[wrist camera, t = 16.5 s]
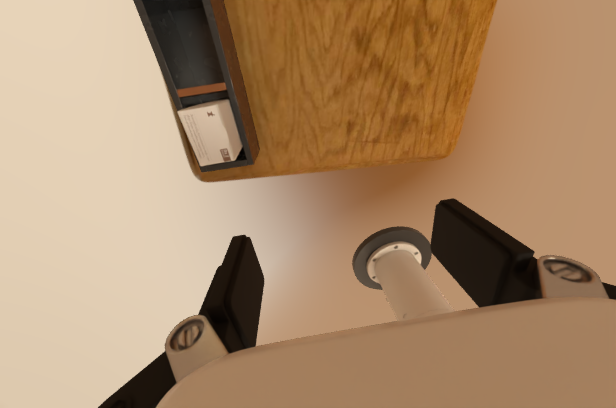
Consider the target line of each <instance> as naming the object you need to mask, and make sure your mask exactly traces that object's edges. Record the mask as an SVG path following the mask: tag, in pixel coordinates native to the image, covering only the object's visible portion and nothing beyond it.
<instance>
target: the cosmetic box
mask: <svg viewBox="0 0 616 408" xmlns="http://www.w3.org/2000/svg"><path fill="white" fill-rule="evenodd" d="M177 113H178V115H179V118H180V120H181V122H182V124H183V127H184V129H185V131H186V134H187V136H188V138H189V141H190V143H191V145H192V148H193V150H194V152H195V155H196V157H197V160H198V162H199V164H200V166H206V165H211V164H217V163H223V162H229V161H235V160H236V158H237V156H238V154H239V152H240V150H241V149H242V147H243V145H242V141H241V138H240V134H239V131H238V127H237V123H236V120H235V116H234V113H233V109H232V106H231V102H230V99H229V98H222V99H216V100H211V101H209V102H205V103H202V104H198V105H195V106H192V107H188V108H186V109H181V110H179V111H177Z"/></svg>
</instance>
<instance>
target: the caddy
mask: <svg viewBox="0 0 616 408" xmlns="http://www.w3.org/2000/svg"><path fill="white" fill-rule="evenodd" d="M133 1H134V3H135V5H136V8H137V11H138V13H139V16H140V18H141V21H142V23H143V26H144V28H145V31H146V33H147V36H148V38H149V41H150V43H151V46H152V48H153V51H154V53H155V56H156V58H157V61H158V64H159V66H160V69H161V71H162V74H163V76H164V79H165V81H166V84H167V86H168V89H169V91H170V94H171V96H172V99H173V101H174V104H175V106H176V109H177V111H179V110H181V109H186V108H188V107H192V106H195V105H198V104H202V103H205V102H209V101H211V100H216V99H222V98H229V99H230V102H231V106H232V109H233V113H234V116H235V120H236V123H237V127H238V131H239V134H240V138H241V141H242V145H243V147H242V149H241V150H240V152H239V154H238V156H237V158H236V160H235V161H229V162H223V163H217V164H211V165H206V166H200V164H199V162H198V160H197V162H198V164H199V167H200V169H201V172H207V171H208V172H209V171H215V170H221V169H228V168H234V167H240V166H247V165H253V164H254V163H255V160H256V158H257V155H258V153H259V150H260V147H259V143H258V139H257V135H256V131H255V127H254V123H253V119H252V115H251V111H250V107H249V103H248V98H247V94H246V90H245V86H244V82H243V78H242V74H241V70H240V66H239V62H238V58H237V54H236V49H235V45H234V41H233V37H232V33H231V29H230V25H229V21H228V17H227V13H226V9H225V4H224V0H133ZM187 137H188V136H187ZM188 139H189V138H188ZM189 142H190V141H189ZM190 144H191V143H190ZM191 147H192V145H191ZM192 149H193V148H192ZM193 152H194V150H193ZM194 154H195V152H194ZM195 157H196V155H195ZM196 159H197V157H196Z"/></svg>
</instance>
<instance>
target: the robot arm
mask: <svg viewBox="0 0 616 408" xmlns="http://www.w3.org/2000/svg"><path fill="white" fill-rule="evenodd" d="M430 248H431V252H432V253H433V255H434V256H435V257H436V258H437V259H438V260H439V262H440V263H441V264H442V265H443V266H444V267H445V269H446V270H447V271H448V272H449V273H450V274H451V275H452V276H453V278H454V279H455V280H456V281H457V282H458V283H459V285H460V286H461V287H462V288H463V289H464V290H465V292H466V293H467V294H468V295H469V296H470V297H471V298H472V300H473V301H474V302H475V303H476V304H477V305H478V306H479V308H474V309H468V310H462V311H454V309H453V308H452V307H451V305H450V304H449V303H448V301H447V300H446V299H445V297H444V296H443V295H442V293H441V292H440V291H439V289H438V288H437V286H436V285H435V284H434V282H433V281H432V280H431V278H430V277H429V276H428V274H427V273H426V272H425V270H424V269H423V268H422V266H421V265H420V264H421V258H422V257H421V253H420V252H419V250H418V249H417V248H416V247H415V246H414V245H413V244H411V243H408V242H403V241H398V242H392V243H388V244H386V245H383V246H381V247H380V248H378V249H377V250H376V251H374V252H373V254H372V255H371V256H370V257H369V259H368V262H367V266H366V268H367V272H368V275H369V277H370V278H371V279H372V280H373V281H375V282H376V283H379V284H380V285H381V287H382V289H383V291H384V293H385V295H386V299H387V301H388V302H389V304H390V306H391V308H392V310H393V312H394V314H395V317H396V319H397V321H395V322H389V323H384V324H378V325H371V326H366V327H360V328H354V329H348V330H342V331H337V332H331V333H325V334H320V335H314V336H309V337H302V338H296V339H291V340H287V341H281V342H276V343H270V344H265V345H261V346H256V338H257V331H258V324H259V317H260V309H261V302H262V295H263V287H264V276H263V273H262V270H261V267H260V264H259V261H258V258H257V256H256V253H255V250H254V247H253V244H252V241H251V239H250V237H246V235H240V236H234V237H233V238H232V240H231V243H230V245H229V248H228V250H227V253H226V255H225V258H224V261H223V263H222V265H221V266H219V267H218V268H217V270H216V273H215V275H214V278H213V280H212V283H211V285H210V287H209V290H208V292H207V295H206V297H205V299H204V302H203V305H202V307H201V309H200V312H199V314H198V315H194V316H191V317H188V318H186V319H185V320H183V321H182V322H180V323H179V324H178V325H176V326H175V327H174V329H173V330H172V331H171V332H170V334H169V336H168V337H167V339H166V343H165V352H164V353H162V354H161V355H160V356H159V357H158V358H156V359H155V360H154V361H153V362H151V364H149V365H148V366H147V367H146V368H144V369H143V370H142V371H141V372H139V373H138V374H137V375H136V376H135V377H133V378H132V379H131V380H130V381H128V382H127V383H126V384H125V385H124V386H122V387H121V388H120V389H119V390H118V391H117V392H115V393H114V394H113V395H111V396H110V397H109V398H108V399H107V400H106V401H104V402H103V404H101V405H100V406H99V407H98V408H616V286H614V285H610V284H607V283H603V282H601V280H600V277H599V276H598V275H597V273H596V272H595V271H593V270H592V269H591V268H590V267H588V266H586V265H584V264H582V263H580V262H578V261H575V260H572V259H569V258H565V257H562V256H554V255H546V256H542V257H540V258H539V259H538V260H537V259H536V258H534V257H533V254H534V251H533V250H531V249H530V248H528V247H527V246H525V245H524V244H522V243H521V242H519V241H518V240H516V239H515V238H513V237H512V236H510V235H509V234H507V233H505V232H504V231H503V230H501V229H500V228H498V227H497V226H495V225H494V224H492V223H491V222H489V221H488V220H486V219H485V218H483V217H482V216H480V215H478V214H477V213H475V212H474V211H472V210H471V209H469V208H468V207H466V206H465V205H463V204H462V203H460V202H459V201H457V200H456V199H447V200H441V201H440V202H439V204H437V205H436V209H435V216H434V224H433V231H432V238H431V246H430ZM255 346H256V347H255Z"/></svg>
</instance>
